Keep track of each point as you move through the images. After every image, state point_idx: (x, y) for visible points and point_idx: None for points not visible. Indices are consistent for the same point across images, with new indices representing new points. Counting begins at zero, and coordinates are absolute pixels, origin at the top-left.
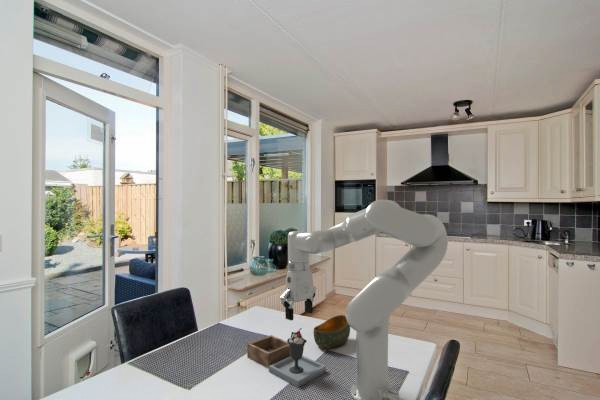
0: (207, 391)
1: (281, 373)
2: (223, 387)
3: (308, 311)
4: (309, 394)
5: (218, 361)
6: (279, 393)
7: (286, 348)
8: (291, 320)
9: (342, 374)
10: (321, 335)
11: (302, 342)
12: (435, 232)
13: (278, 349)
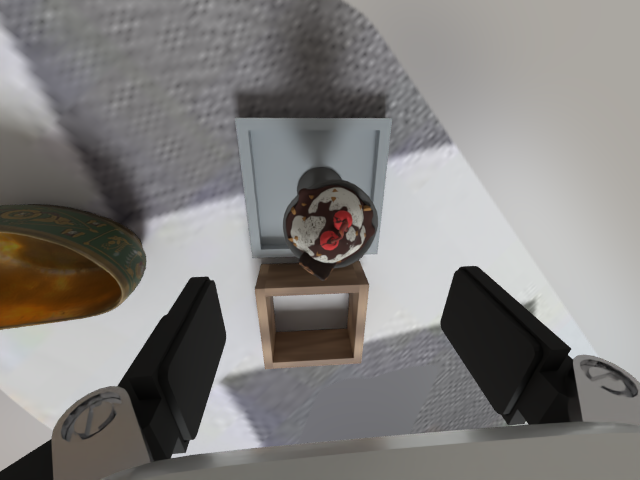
0: (524, 271)
1: (382, 199)
2: (494, 262)
3: (215, 312)
4: (394, 55)
5: (412, 353)
6: (443, 138)
7: (284, 283)
8: (471, 269)
9: (201, 49)
10: (115, 255)
11: (334, 188)
12: None
13: (322, 287)
